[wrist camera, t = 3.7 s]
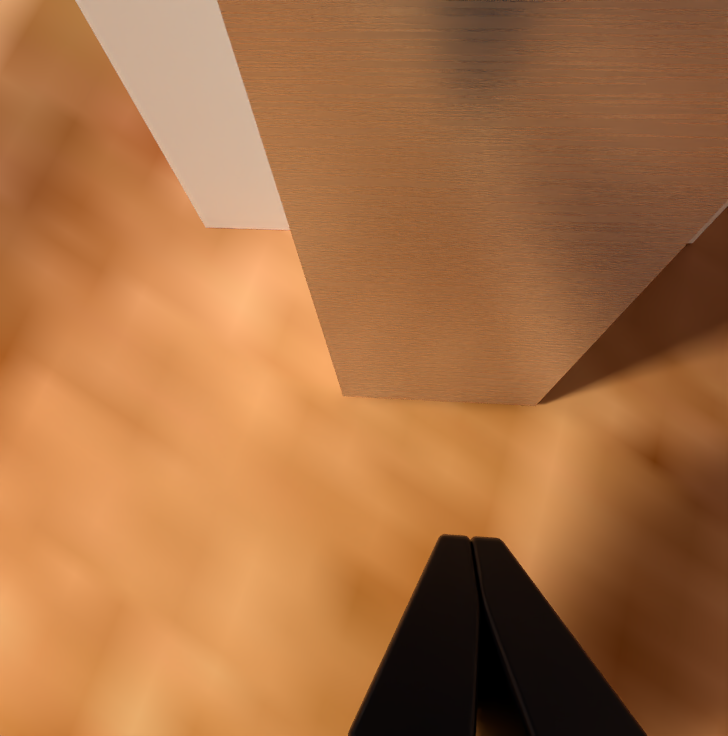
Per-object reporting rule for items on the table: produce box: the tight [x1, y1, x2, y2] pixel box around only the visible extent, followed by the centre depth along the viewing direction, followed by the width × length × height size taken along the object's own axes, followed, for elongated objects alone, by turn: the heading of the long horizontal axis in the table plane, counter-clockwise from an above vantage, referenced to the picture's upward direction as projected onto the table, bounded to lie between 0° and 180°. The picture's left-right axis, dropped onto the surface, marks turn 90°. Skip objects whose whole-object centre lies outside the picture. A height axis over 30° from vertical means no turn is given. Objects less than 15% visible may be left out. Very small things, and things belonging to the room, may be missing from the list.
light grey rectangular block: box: [217, 0, 728, 406], centre depth 11 cm, size 10×5×12 cm, turn 176°
